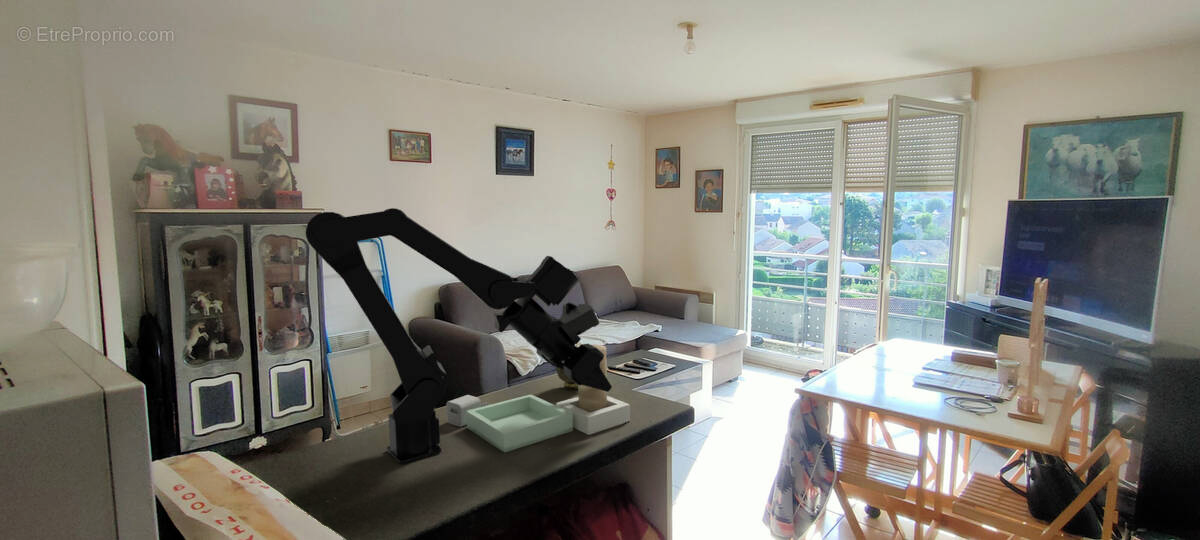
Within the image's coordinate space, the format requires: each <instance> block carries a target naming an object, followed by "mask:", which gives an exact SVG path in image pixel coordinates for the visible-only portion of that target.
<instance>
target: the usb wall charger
mask: <svg viewBox="0 0 1200 540" xmlns="http://www.w3.org/2000/svg"><path fill="white" fill-rule="evenodd" d="M487 405H489V402H487V401H486V402H484V403H482V401H481V399H480V398H479V397H478V396H473V395H470V394H466V395H463V396H460V397H458V398H455V399H452V400H448V401H447V402H446V405H445V406H446V420H447V423H448V424H450V425H453V426H457V427H459V428H461V427H463V426H467V420H466V411H468V410H472V409H476V408H480V407H484V406H487Z"/></svg>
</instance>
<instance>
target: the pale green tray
mask: <svg viewBox="0 0 1200 540" xmlns="http://www.w3.org/2000/svg"><path fill="white" fill-rule="evenodd" d="M466 420H467V424H466V429H468V430H470V431H471V432H472V433H474V434H476V435H477V436H479V437H480V438H482V439H483V440H484V441H486V442H487V443H489V444H491V445H492V446H494V447H495V448H496V449H498V450H500V451H501V452H502V453H508V452H511V451H514V450H517V449H518V450H519V449H520V448H523V447H527V446H530V445H533V444H536V443H539V442H543V441H546V440H549V439H552V438H554V437H557V436H561V435H564V434H568V433H571V432H574V428H573V413H570V412H568V411H566V410H564V409H562V408H560V407H557V406H556V405H555V404H552V403H550V402H548V401H546V400H545V399H542V398H540V397H537V396H535V395H533V394H527V395H523V396H520V397H519V396H518V397H516V398H512V399H507V400H503V401H500V402H496V403H492V404H488V405H487V404H486V406H484V407H480V408H476V409H472V410H468V411H466Z"/></svg>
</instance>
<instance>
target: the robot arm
mask: <svg viewBox="0 0 1200 540" xmlns="http://www.w3.org/2000/svg"><path fill="white" fill-rule="evenodd" d="M306 225H307V226H306V229H305V237H306V240H307V242H308V244H309V245H310V246H311V248H313V249H314V251H315V252H316V253H317V254H318V255H319V256H320V257H321V259H323V260H324V261H325V262H326V263H327V265H328V266H329V267H331V269H333V271H335V273H337V275H338V276H339V277H341V279H342V280H343V281H344V283H345V285H346V286H347V287H348V290H349V291H350V292H351V294H352V295H353V297H354V298H355V300H356V302H357V303H358V306H360V307H359V308H361V310H362V311H363V313H364V315H365V316H366V318H367V320H368V321H369V324H370V325H372V327H373V329H374V331H375V332H376V334H377V336H378V337H379V338H380V341H382V343H383V345H384V347H385V348H386V349H387V351H388V353H389V354H390V357H392V360H393V363H394V365H395V368H396V370H397V373H398V375H399V379H400V382H401V383H399V385H398V386H397V387H395V389H394V390H393V391H392V392H391V393H390V395H389V399H390V404H391V408H392V413H390V414H388V417H387V418H388V431H389V433H388V434H389V446H387V447H386V452H387V453H388V454H390V456H391V457H393V458H394V459H395V461H397V462H398V464H405V463H408V462H412V461H415V460H419V459H421V458H425V457H429V456H432V455H436V454H439V453H441V452H442V450H443V449H442V447H441V446H440V444H441V436H440V435H441V434H440V419H439V418H438V417H437V415H436V414H437V413H436V412H437V411H436V410H435V407H436V405H438V403H440V402H441V401H442V400H443V398H444V396H445V394H446V391H447V384H446V381H445V378H444V377H447V372H446V370H445V369H444V367H443V366H442V364H441V362H439V361H438V360H437V359H436V356H435V353H434V352H433V350H432V347H431V346H430V345H429V344H428V345H426V346H425V347H424V348H423V349H421V347H419V346H418V345H417V343H416V342H415V341H414V340H413V339H412V337H411V335H410V334H409V333H408V330H407V329H406V328H405V326H404V324H403V323H402V321H401V320H400V318H399V316H398V315H397V313H396V311H395V309H394V308H393V306H392V304H391V303H390V301H389V300H388V298H387V297H386V295H385V293H384V292H383V290H382V289H381V287H380V285H379V284H378V282H377V280H376V278H375V276H374V275H373V274H372V272H371V270H370V268H369V267H368V265H367V264H366V261H365V258H364V255H363V252H362V250H361V248H360V245H359V242H362V241H367V240H372V239H373V240H374V239H377V238H382V237H388V236H391V237H393V238H395V239H396V240H398V241H400V242H402V243H403V244H404V245H406V246H407V247H409V248H410V249H412V250H414V251H415V252H417V253H419V254H420V255H422V257H425V258H427V259H428V260H429V261H431V262H432V263H434V264H436V265H437V266H439V267H440V268H442V269H443V270H445V271H447V272H448V273H450V274H451V275H453V276H454V277H455V279H457V280H458V281H459V282H461V284H463V286H464V287H465V288H466V289H468V291H470V292H471V293H472V295H474V296H475V297H476V298H477V299H478V300H480V301H481V302H482V303H484V304H485V305H486V306H487V307H489V308H490V309H493V310H498V311H499V310H502V309H503V310H502V311H501V312H495V313H493V317H494V326H493V327H494V329H496V330H497V331H498V332H499V333H503V332H504V331H505V330H506V329H507V327H509V326H510V327H511V328H512V329H513V330H515V331H516V332H517V334H519V335H520V336H521V337H523V339H525V341H526V342H527V343H528V344H529V345H531V346H532V347H533V348H534V349H535V350H536V354H537V356H540V357H541V358H542V359H543V361H545V362H547V363H548V364H550V365H551V366H553V367H555V368H556V367H558V368H560V369H563V370H564V374H565V375H566V376H568V377H569V378H570V379H571V380H572V381H574V382H575V383H576V384H578V385H579V386H580V385H584V386H588V387H592V388H596V389H599V390H603V391H606V392H607V393H608V392H610V391H611V389H612V384H611V383H610V382H609V380H608V378H606V376H605V375H604V373H603V372H602V370H601V368H600V362H601V361H602V360H603V359H604V354H603V353H602V352H600V351H599V350H598V349H597V348H596V347H594V346H592V345H593V344H590V343H583V344H582V343H581V344H580V345H579V346H577V344H578V343H579V342H580V341H581V340H582V338H581V337H580V336H579V335H582V334H583V333H586V332H587V331H589V330H591V329H592V328H596V327H597V326H598V325H599V324H600V321H599V318H598V316H597V313H596V312H595V310H594V308H593V306H591V305H588V304H586V303H583V304H582V303H579V304H578V306H577V305H576V304H575V303H573V302H570V301H568V302H566V303H565V304H563V305H562V314H560V316H561V317H559V318H556V317H555V316H553V315H551V314H550V313H549V312H548V311H547V310H546V309H545V308H543V306H541V305H540V304H539V303H538V302H537V301H536V300H535V299H537V300H538V301H539V302H540V303H541V304H542V305H544V306H546V307H548V308H549V307H550V306H551V305H552V306H556V307H558V306H559V305H561V302H562V301H563V300H564V299H565V298H566V296H568V294H569V293H570V292H571V291H572V290H573V289H574V288H575V286H577V284H578V283H579V282H580V279H579V278H578V277H577V275H576V274H575V273H574V272H573V271H572V270H571V269H569V268H567V267H565V265H563V264H562V263H560V262H559V261H558V260H556V259H555V258H554V257H553V256H550V255H546V256H545V257H544V258H543V259H542V261H541V263H540V264H539V266H537V267H536V269H534V271H533V272H532V274H530V276H529V277H528V278H527V279H526V278H524V277H521V276H519V277H512V276H511V275H510V274H507V273H505V272H504V271H503V272H502V271H500V270H498V269H496V268H493V267H491V266H489V265H487V264H484V263H482V262H479V261H477V260H475V259H473V258H471V257H469V256H468V255H466V254H465V253H463V252H462V251H460V250H458V249H457V248H455V246H453V245H451V244H449V243H448V242H447V241H445V240H443V239H441V238H440V237H439V236H437V235H436V234H434V233H433V232H432V231H430V230H428V229H427V228H425V227H423V226H422V225H421V224H419V223H418V222H417V221H415V220H414V219H412V218H410V217H409V216H408V215H406V213H405V212H404V211H402V210H401V209H399V208H393V207H392V208H388V209H385V210H383V211H378V212H377V211H376V212H369V213H363V214H356V215H349V216H344V215H342V214H341V213H339V212H334V211H324V212H320V213H318V214H316V215H314V216H313V217H311V219H309V221H308V222H307V224H306ZM534 297H535V299H534ZM515 300H516V301H515ZM578 347H579V348H578Z"/></svg>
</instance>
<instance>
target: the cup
mask: <svg viewBox="0 0 1200 540" xmlns="http://www.w3.org/2000/svg"><path fill="white" fill-rule="evenodd" d="M555 369H556V374H557V376H558V378H559V379H560V380H561V381H563V387H564V388H565V389H567V390H570V391H571V390H572V391H573V390H578V384H576V383H575V382H574V381H572V380H571V379H570V378H569V377H568V376H566V375H565V374H564V370H563V369H560V368H558V367H555Z"/></svg>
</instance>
